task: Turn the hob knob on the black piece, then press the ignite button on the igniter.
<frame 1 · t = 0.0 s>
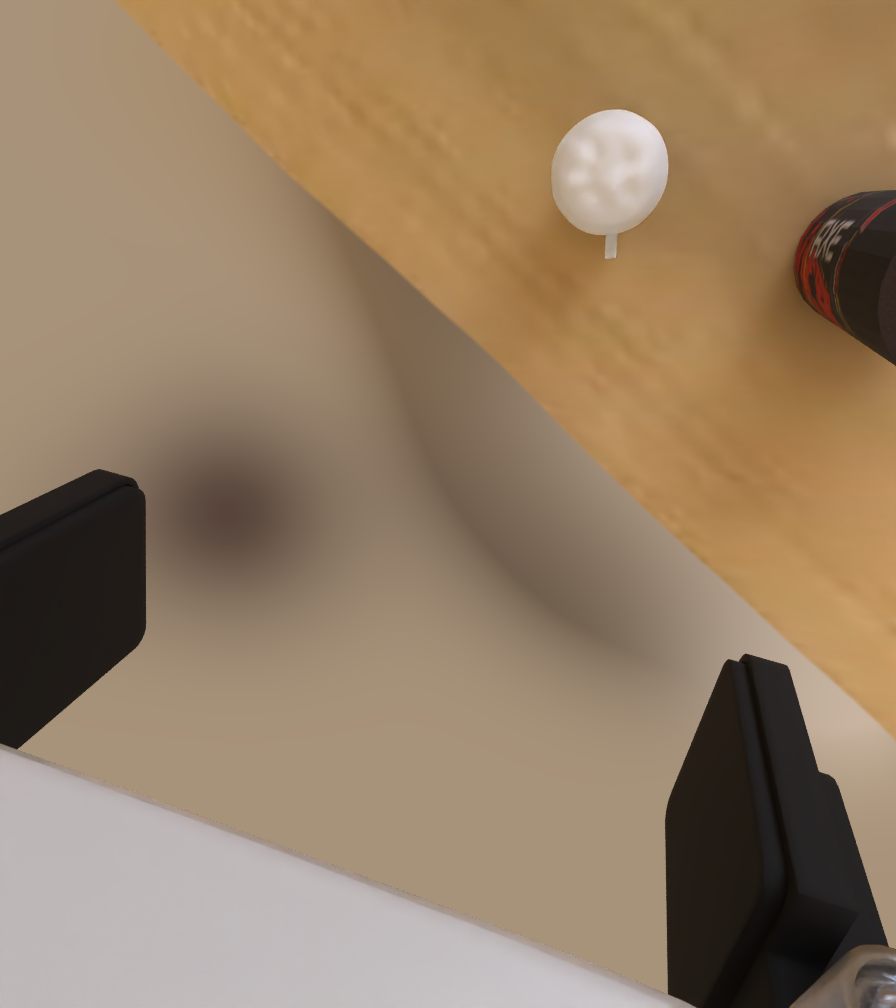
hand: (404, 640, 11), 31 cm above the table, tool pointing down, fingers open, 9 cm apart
deodorant: (861, 258, 35), on the table
milkshake: (618, 188, 36), on the table
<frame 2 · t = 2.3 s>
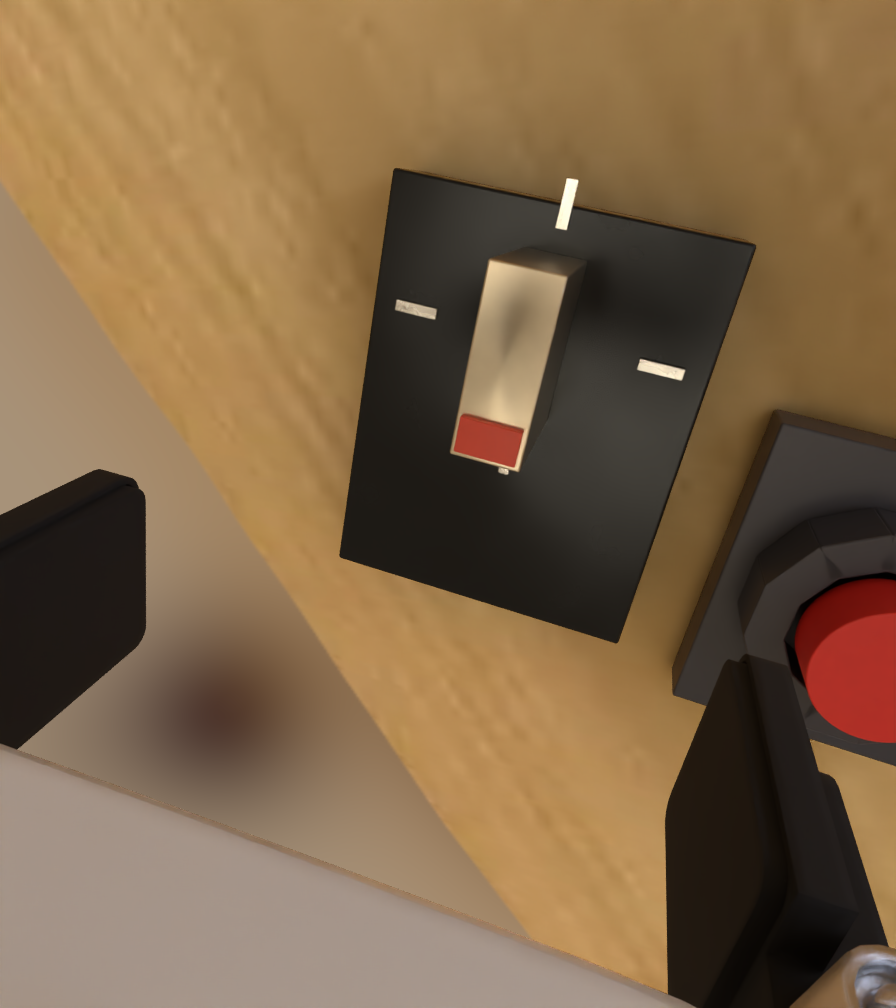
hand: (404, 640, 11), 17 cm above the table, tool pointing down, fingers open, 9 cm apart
black piece: (527, 407, 27), on the table
hob knob: (520, 353, 21), point 5 cm above the table, hinge at 0.0°
ignite button: (880, 659, 22), point 5 cm above the table, slide at 0.1 cm
igniter: (845, 585, 26), on the table
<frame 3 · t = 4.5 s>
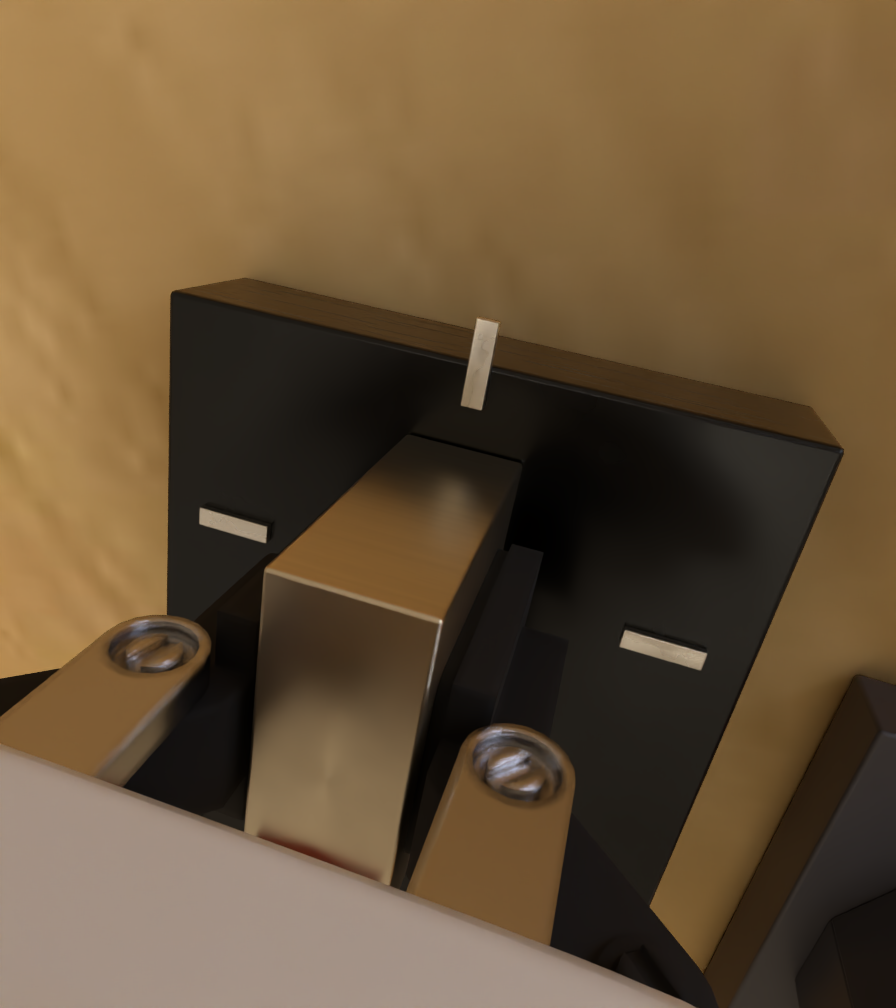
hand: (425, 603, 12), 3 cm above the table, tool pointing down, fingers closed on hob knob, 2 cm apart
black piece: (446, 642, 17), on the table
hob knob: (390, 665, 11), point 5 cm above the table, hinge at 0.0°, touching gripper
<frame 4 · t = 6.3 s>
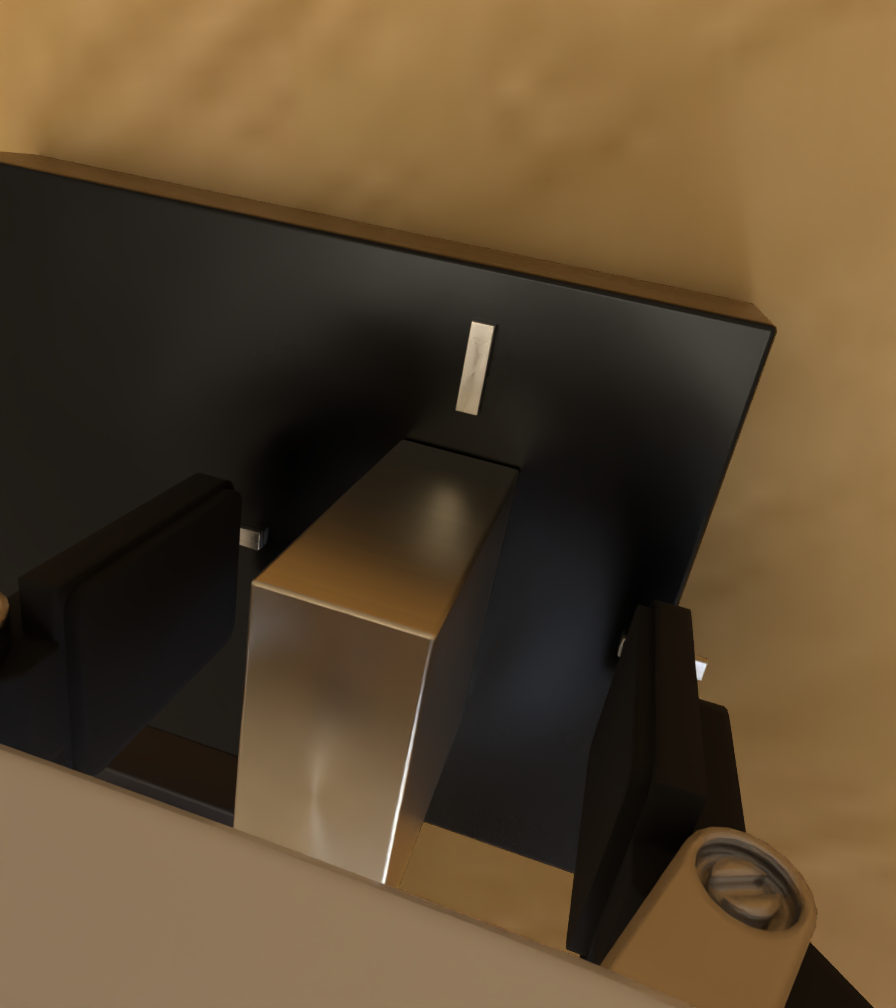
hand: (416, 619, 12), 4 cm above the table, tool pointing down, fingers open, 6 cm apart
black piece: (332, 494, 16), on the table
hob knob: (383, 676, 10), point 5 cm above the table, hinge at 89.7°
igniter: (181, 850, 21), on the table
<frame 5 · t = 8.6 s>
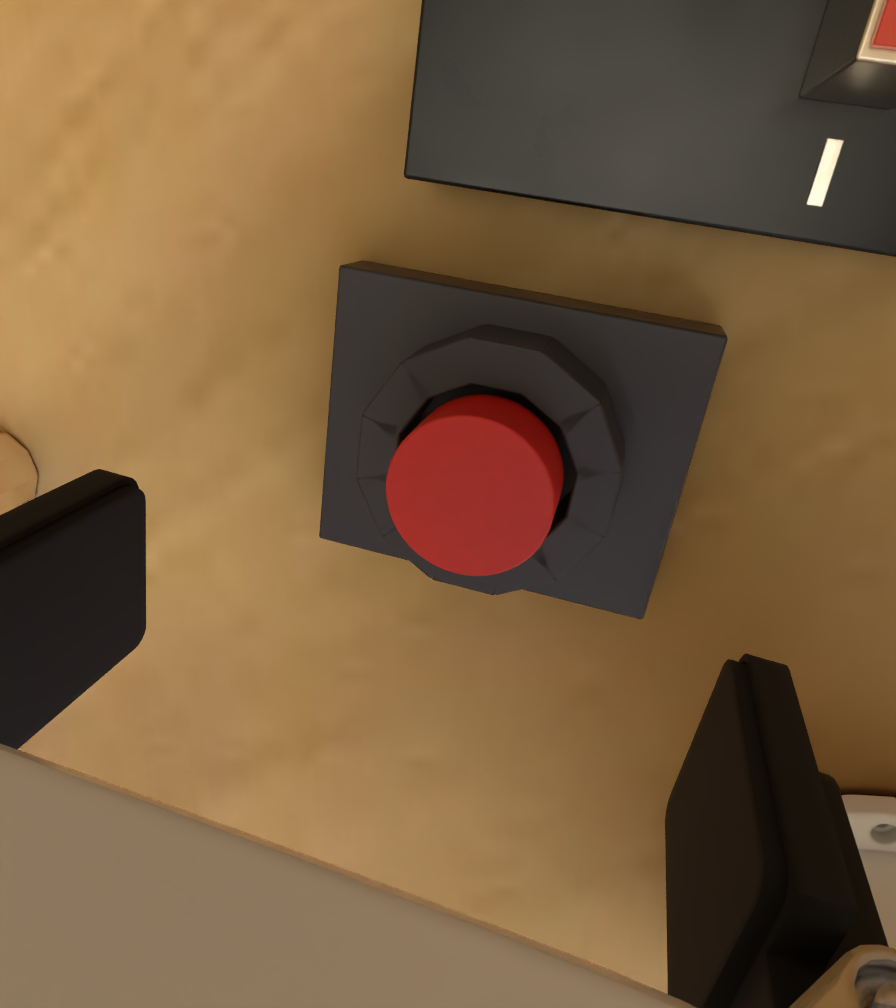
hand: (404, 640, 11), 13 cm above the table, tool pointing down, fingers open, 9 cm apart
ignite button: (476, 484, 19), point 5 cm above the table, slide at 0.1 cm
igniter: (507, 433, 24), on the table
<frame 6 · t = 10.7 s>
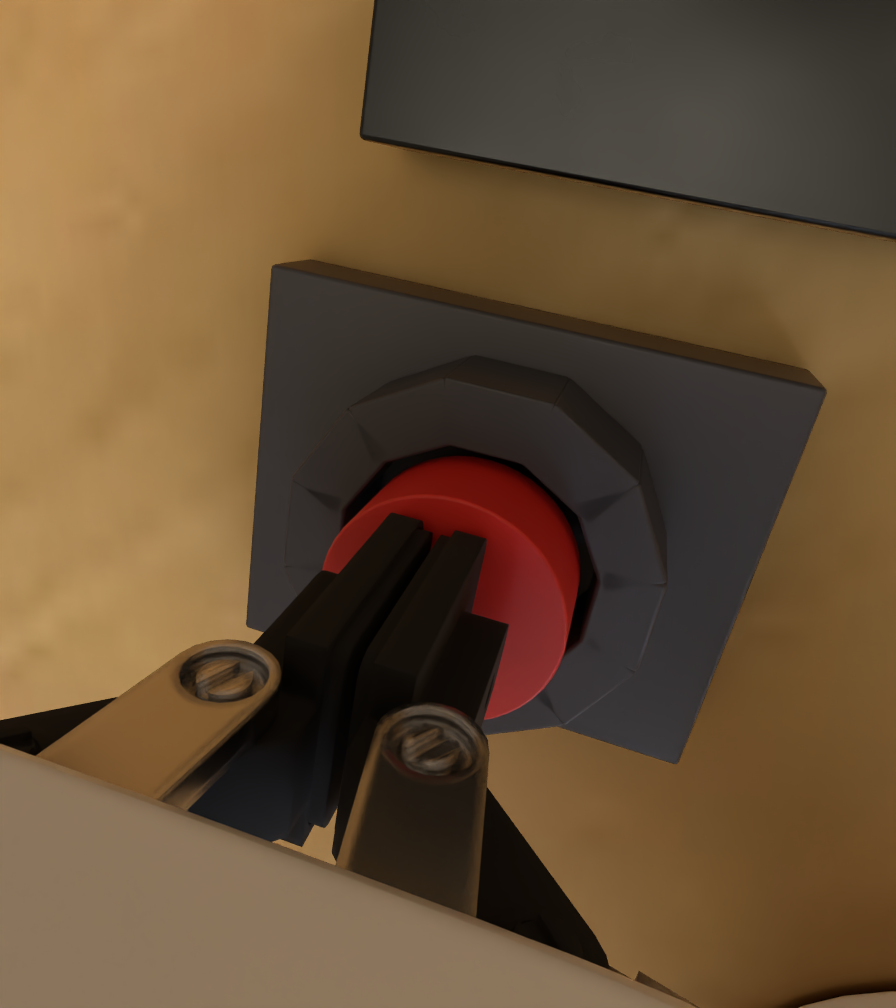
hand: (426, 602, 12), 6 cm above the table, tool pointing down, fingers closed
ignite button: (453, 586, 13), point 4 cm above the table, slide at -0.1 cm, touching gripper
igniter: (501, 500, 17), on the table
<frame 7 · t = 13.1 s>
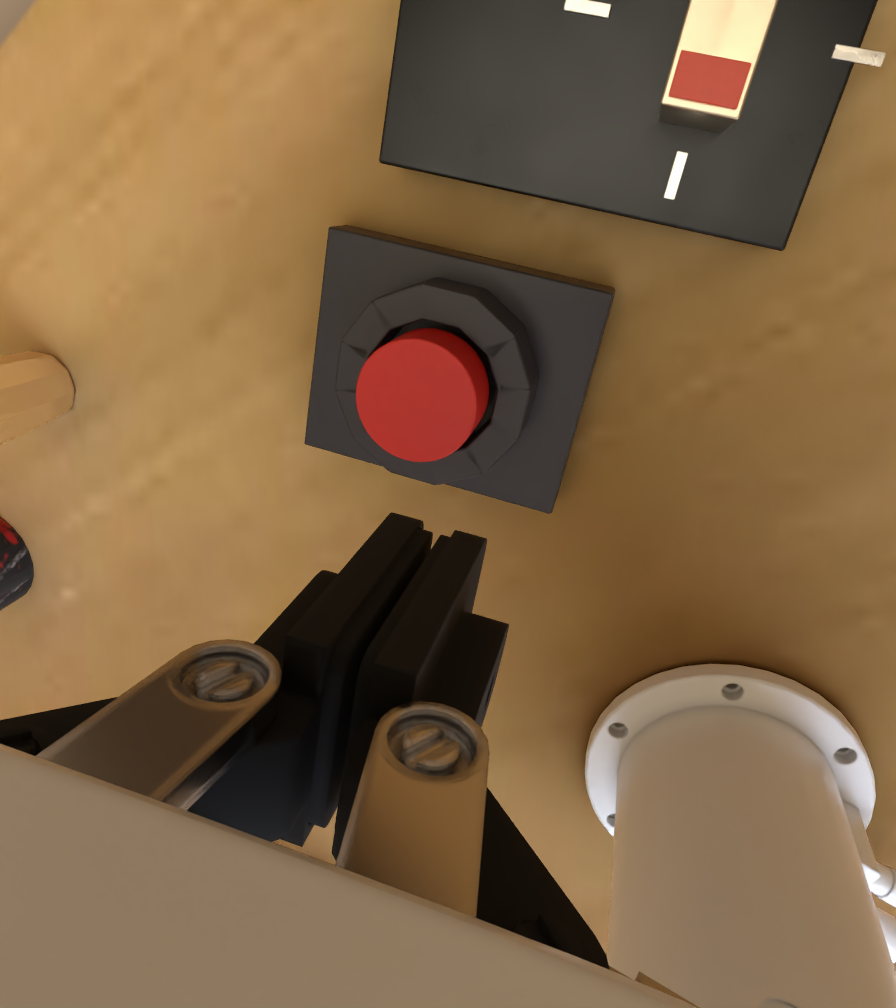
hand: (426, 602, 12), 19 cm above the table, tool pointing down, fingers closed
black piece: (622, 29, 24), on the table
hob knob: (727, 11, 19), point 5 cm above the table, hinge at 89.7°
ignite button: (423, 394, 26), point 5 cm above the table, slide at 0.1 cm
igniter: (454, 366, 30), on the table
milkshake: (42, 381, 36), on the table
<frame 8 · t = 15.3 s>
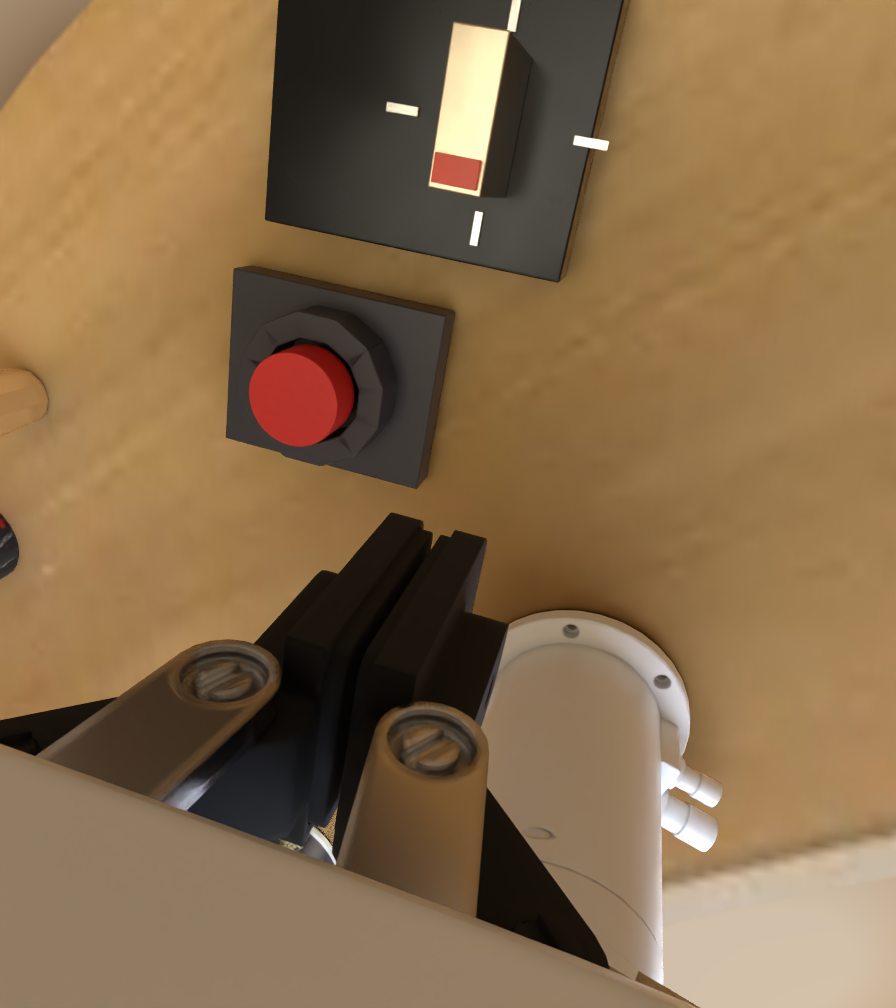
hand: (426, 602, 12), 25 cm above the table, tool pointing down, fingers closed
black piece: (441, 119, 33), on the table
coffee can: (279, 855, 54), on the table
hob knob: (481, 119, 28), point 5 cm above the table, hinge at 89.7°
ignite button: (302, 395, 34), point 5 cm above the table, slide at 0.1 cm
igniter: (341, 374, 38), on the table
milkshake: (22, 392, 44), on the table
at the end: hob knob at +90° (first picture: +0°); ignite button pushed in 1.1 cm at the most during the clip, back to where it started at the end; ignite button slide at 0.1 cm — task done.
